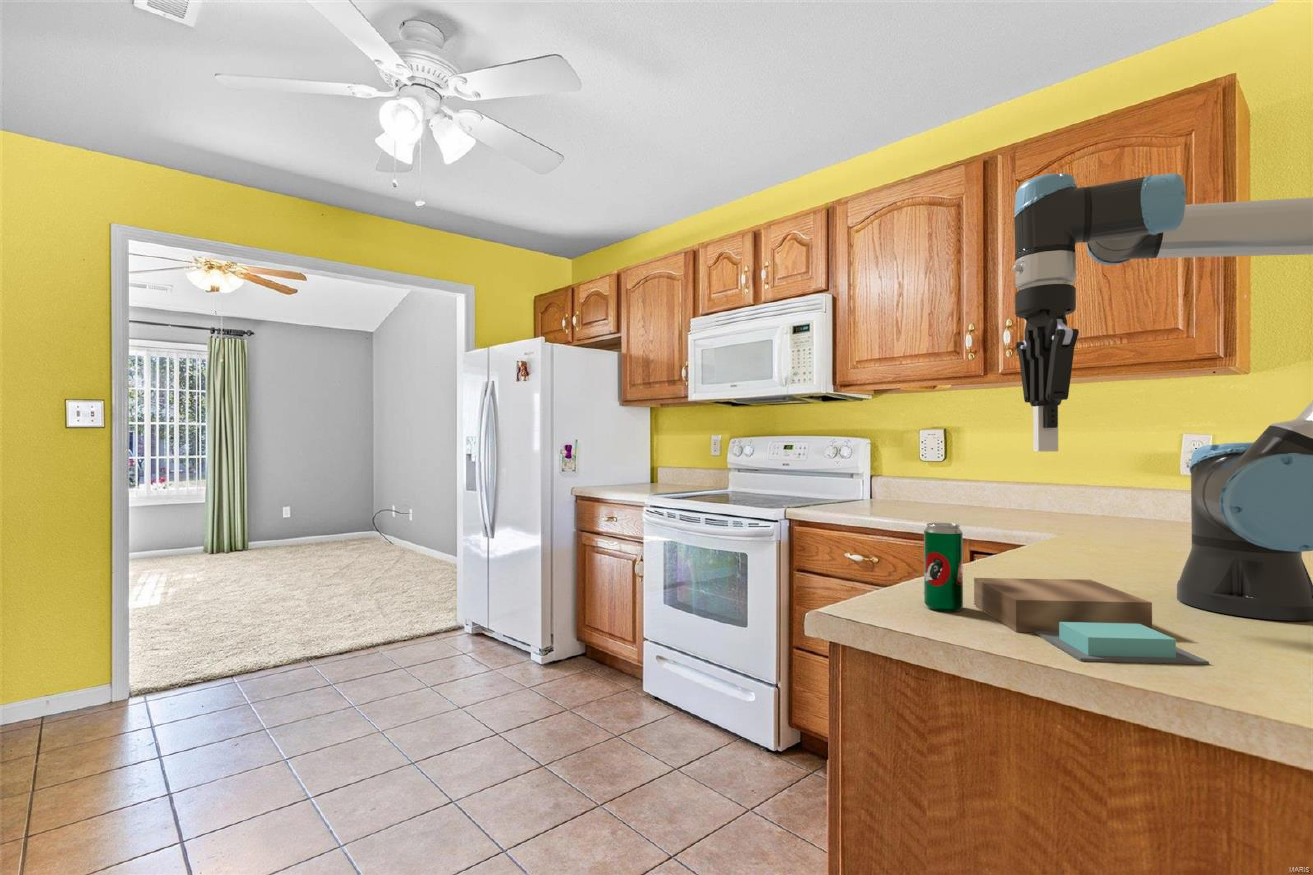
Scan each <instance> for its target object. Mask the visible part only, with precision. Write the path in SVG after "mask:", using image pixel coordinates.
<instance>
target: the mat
mask: <svg viewBox="0 0 1313 875" xmlns="http://www.w3.org/2000/svg"><path fill="white" fill-rule="evenodd" d="M1034 634H1035V635H1036V636H1038V637H1040V638H1042V639H1043V640H1045V642H1046V641H1047V642H1048V643H1049V644H1051V645H1053V646H1055V647H1057V648H1058V649H1060V650H1062V651H1063V652H1064V653H1067V654H1068V655H1070V656H1072V657H1073V658H1075V659H1077V660H1078V661H1080V662H1101V663H1103V662H1104V663H1105V662H1106V663H1107V662H1108V663H1134V664H1135V663H1137V664H1139V663H1141V664H1175V665H1178V664H1179V665H1180V663H1181V665H1210V662H1209V661H1208V660H1206V659H1205V658H1204V659H1203V657H1202V658H1201V657H1199V656H1197V655H1195V654H1193V653H1191V652H1188V651H1187V650H1184V649H1182V648H1179V647H1177V646H1176V658H1163V657H1126V656H1090V655H1087V654H1085V653H1083V652H1081V651H1080V650H1078V649H1076V648H1074V647H1073V646H1071V645H1069V644H1068V643H1066V642H1064V641H1062V640H1061V639H1059V632H1053V631H1035V632H1034Z"/></svg>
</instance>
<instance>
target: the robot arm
mask: <svg viewBox="0 0 1313 875" xmlns="http://www.w3.org/2000/svg"><path fill="white" fill-rule="evenodd" d="M1185 183H1186V182H1185V179H1184V178H1183V176H1182V175H1181V174H1179V173H1166V174H1156V175H1153V174H1148V175H1146V176H1143V177H1137V178H1131V179H1125V180H1120V181H1113V182H1107V183H1102V184H1097V185H1090V186H1089V185H1088V186H1085V187H1084V186H1079V187H1077V184H1076V179H1075V177H1074V176H1073V175H1071V174H1068V173H1064V172H1063V173H1047V174H1042V175H1039V176H1036V177H1033V178H1030V179H1028V180H1027V181H1025V182H1023V183H1022V184H1021V185H1019V187H1018V188H1017V189H1016V190H1017V191H1016V192H1015V199H1014V216H1013V217H1014V218H1013V222H1014V224H1013V225H1014V266H1013V267H1012V272H1014V276H1015V278H1014V280H1015V281H1014V282H1015V288H1016V289H1018V290H1017V292H1016V293H1015V294H1014V310H1015V311H1014V314H1015V317H1016V318H1019V319H1024V320H1025V322H1026V323H1025V328H1024V339H1023V340H1022V341H1017V342H1016V344H1015V350H1016V352H1017V355H1018V360H1019V368H1020V376H1021V383H1022V384H1021V385H1022V392H1023V400H1024V403H1025V404H1027V403H1029V404H1030V406H1031V407H1032V432H1033V433H1032V434H1033V436H1032V437H1033V438H1032V441H1033V443H1032V447H1033V449H1032V452H1059V406H1060V405H1061V404H1062V401H1063V400H1064V401H1065V400H1068V399H1069V394H1070V387H1071V379H1072V372H1073V371H1072V369H1073V361H1074V354H1075V348H1076V343H1077V340H1078V337H1079V333H1080V332H1079V329H1078V328H1069V327H1068V319H1067V316H1068V315H1071V314H1073V313H1074V312H1075V311H1076V310H1077V309H1076V308H1077V287H1075V286H1074V285H1073V284H1075V283H1076V281H1077V262H1076V261H1077V254H1076V244H1080V243H1083V244H1084V243H1086V250H1087V253H1088V255H1089V257H1090V258H1091V259H1092V260H1094V261H1095V262H1096V263H1098V264H1100V265H1105V266H1118V265H1121V264H1123V263H1126V262H1129V261H1131V260H1144V259H1145V260H1146V259H1147V260H1148V259H1170V258H1171V259H1172V258H1173V259H1174V258H1177V259H1178V258H1210V257H1211V258H1215V257H1219V258H1221V257H1253V256H1254V257H1262V256H1265V257H1267V256H1300V255H1301V256H1302V255H1303V256H1304V255H1305V256H1306V255H1308V256H1309V255H1313V197H1299V198H1283V199H1282V198H1281V199H1278V198H1277V199H1263V200H1261V199H1260V200H1246V201H1229V202H1210V203H1193V204H1192V203H1191V204H1186V203H1187V202H1186V201H1187V197H1186V196H1187V195H1186V194H1187V190H1186V184H1185ZM1190 461H1191V463H1190V464H1189V473H1190V493H1191V494H1190V498H1191V499H1190V506H1191V507H1190V509H1191V510H1190V511H1191V513H1190V514H1191V515H1190V516H1191V548H1190V549H1191V550H1190V552H1189V555H1188V556H1187V559H1186V562H1185V564H1184V565H1183V566H1184V567H1183V568H1182V572H1181V575H1180V576H1179V577H1180V578H1179V579H1178V581H1177V583H1176V599H1177V600H1178V601H1179V602H1181V603H1183V604H1185V605H1188V606H1192V607H1195V608H1198V609H1201V610H1206V611H1211V612H1215V613H1220V614H1226V615H1231V616H1232V615H1233V616H1237V617H1239V616H1240V617H1246V618H1255V619H1263V620H1274V621H1291V622H1292V621H1297V622H1298V621H1299V622H1300V621H1311V620H1313V581H1312V578H1311V577H1310V574H1309V571H1308V569H1307V567H1306V565H1305V562H1304V560H1303V555H1302V552H1303V553H1304V552H1312V551H1313V400H1312V401H1311V402H1310V403H1309V404H1308V405H1307V406H1306V407H1305V408H1304V409H1303V410H1302V412H1301V413H1299V415H1298V416H1297V417H1296V418H1293V419H1292V420H1286V421H1281V422H1275V423H1271V424H1270V425H1269V426H1267V428H1266V429H1265V430H1264V431H1263V432H1261V434H1260V435H1259V436H1258V438H1257V439H1255V441H1253V442H1252V441H1251V442H1228V443H1226V442H1225V443H1220V444H1207V445H1203V446H1202V445H1201V446H1200V447H1196V449H1195V450H1193V452H1192V453H1191V460H1190Z"/></svg>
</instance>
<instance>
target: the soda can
mask: <svg viewBox="0 0 1313 875" xmlns="http://www.w3.org/2000/svg"><path fill="white" fill-rule="evenodd" d="M960 527H961V526H960V524H957V523H951V522H927V523H926V528H925V529H924V530H923V585H924V586H923V589H924V592H923V596H924V597H923V598H924V599H923V600H924V601H923V602H924V604H925V606H926V607H927V608H928V609H930V610H932V611H936V612H941V613H942V612H944V613H955V612H956V613H957V612H959V611H961V610H962V608H963V607H964V584H963V583H964V561H963V559H964V558H963V557H964V556H963V555H964V554H963V553H964V550H963V549H964V546H963V545H964V544H963V543H964V541H963V539H964V537H963V535H964V534H963V531H962V529H961V528H960Z"/></svg>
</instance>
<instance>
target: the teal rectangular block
mask: <svg viewBox="0 0 1313 875" xmlns="http://www.w3.org/2000/svg"><path fill="white" fill-rule="evenodd" d="M1059 639H1061V640H1062V641H1064V642H1066V643H1068V644H1069V645H1071V646H1073V647H1074V648H1076V649H1078V650H1080V651H1081V652H1083V653H1085V654H1087V655H1090V656H1126V657H1163V658H1176V647H1177V646H1176V644H1177V642H1176V641H1177V640H1176V638H1174V637H1171V636H1169V635H1167V634H1164V633H1162V632H1160V631H1158V630H1155V629H1153V628H1152V629H1151V628H1148V627H1146V626H1144V625H1141V624H1128V623H1084V622H1059Z"/></svg>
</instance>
